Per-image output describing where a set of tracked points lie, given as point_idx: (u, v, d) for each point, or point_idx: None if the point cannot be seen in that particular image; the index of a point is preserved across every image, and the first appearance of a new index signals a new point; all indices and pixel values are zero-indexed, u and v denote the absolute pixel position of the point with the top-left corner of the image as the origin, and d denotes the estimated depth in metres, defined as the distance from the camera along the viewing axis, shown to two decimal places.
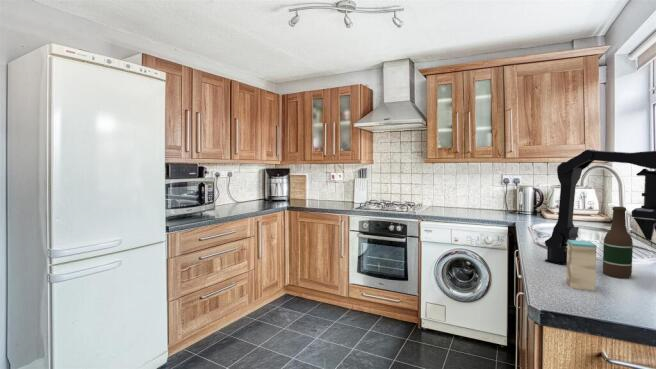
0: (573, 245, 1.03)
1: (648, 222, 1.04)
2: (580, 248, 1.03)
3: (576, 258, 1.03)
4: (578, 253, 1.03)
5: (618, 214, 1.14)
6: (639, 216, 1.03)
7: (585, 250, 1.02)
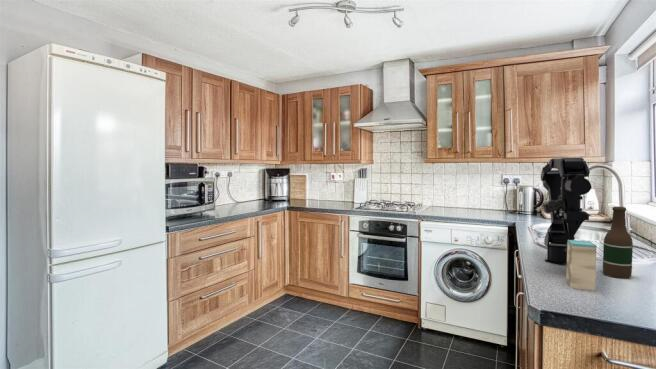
0: (573, 245, 1.03)
1: None
2: (580, 248, 1.03)
3: (576, 258, 1.03)
4: (578, 253, 1.03)
5: (618, 214, 1.14)
6: None
7: (585, 250, 1.02)
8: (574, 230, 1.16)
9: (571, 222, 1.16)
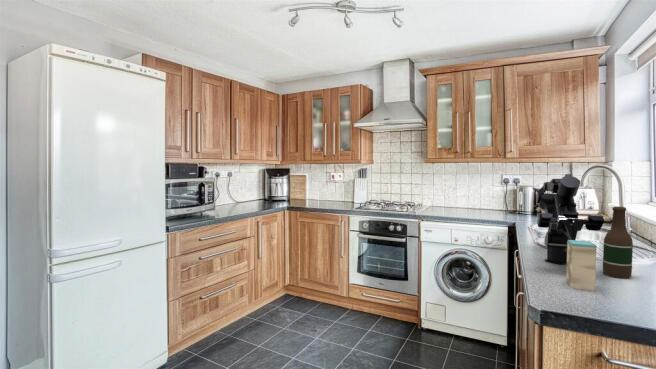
0: (573, 245, 1.03)
1: None
2: (580, 248, 1.03)
3: (576, 258, 1.03)
4: (578, 253, 1.03)
5: (618, 214, 1.14)
6: None
7: (585, 250, 1.02)
8: (569, 233, 1.14)
9: (565, 228, 1.17)
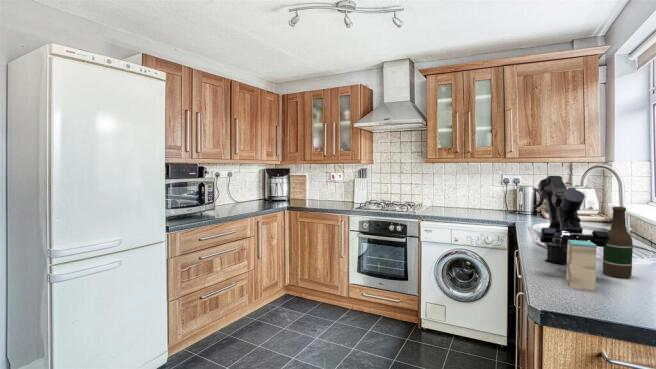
0: (573, 245, 1.03)
1: None
2: (580, 248, 1.03)
3: (576, 258, 1.03)
4: (578, 253, 1.03)
5: (618, 214, 1.14)
6: None
7: (585, 250, 1.02)
8: None
9: None
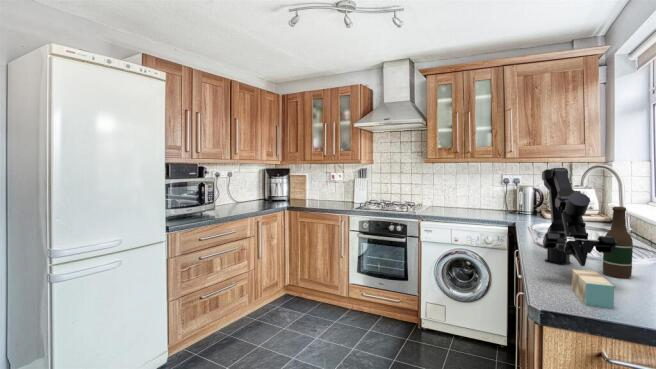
0: (586, 303, 0.91)
1: None
2: None
3: None
4: None
5: (618, 214, 1.14)
6: None
7: None
8: (578, 256, 1.04)
9: (574, 250, 1.07)
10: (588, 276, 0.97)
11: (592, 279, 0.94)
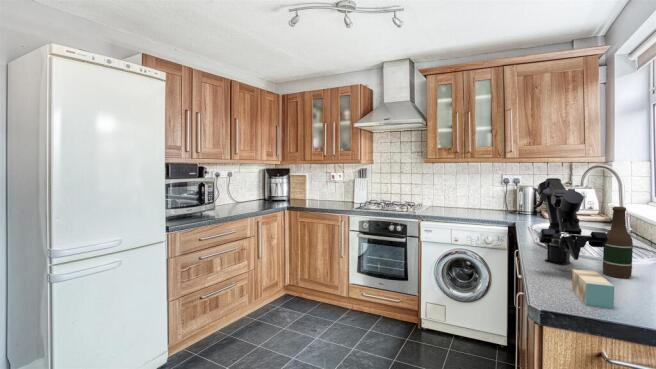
0: (586, 303, 0.91)
1: None
2: None
3: None
4: None
5: (618, 214, 1.14)
6: None
7: None
8: (572, 251, 1.11)
9: (568, 244, 1.14)
10: (588, 276, 0.97)
11: (592, 279, 0.94)
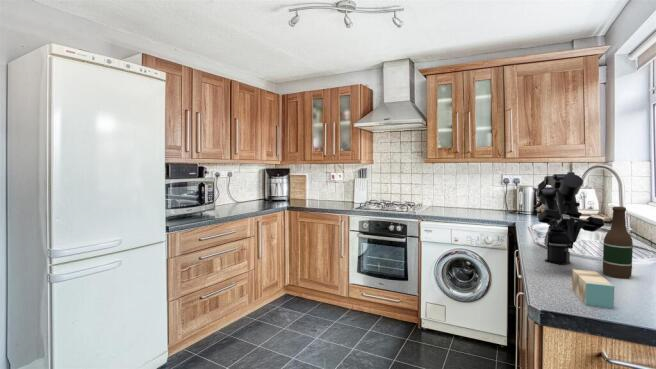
0: (586, 303, 0.91)
1: None
2: None
3: None
4: None
5: (618, 214, 1.14)
6: None
7: None
8: (570, 233, 1.14)
9: (566, 226, 1.16)
10: (588, 276, 0.97)
11: (592, 279, 0.94)
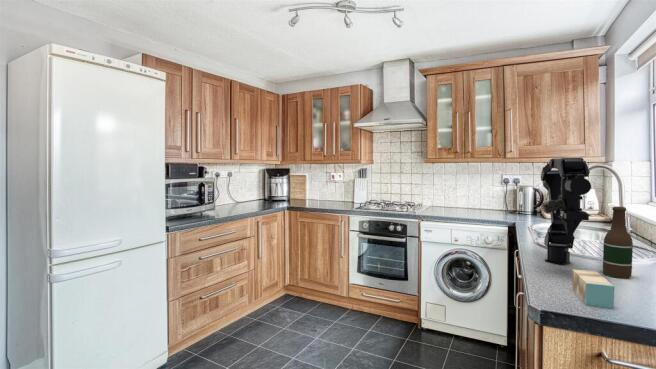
0: (586, 303, 0.91)
1: None
2: None
3: None
4: None
5: (618, 214, 1.14)
6: None
7: None
8: (573, 230, 1.17)
9: (569, 221, 1.17)
10: (588, 276, 0.97)
11: (592, 279, 0.94)
